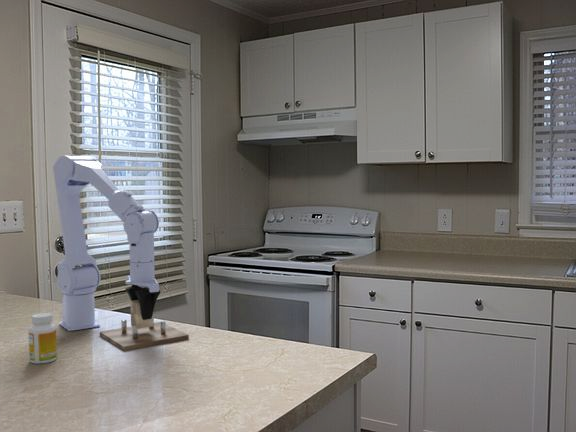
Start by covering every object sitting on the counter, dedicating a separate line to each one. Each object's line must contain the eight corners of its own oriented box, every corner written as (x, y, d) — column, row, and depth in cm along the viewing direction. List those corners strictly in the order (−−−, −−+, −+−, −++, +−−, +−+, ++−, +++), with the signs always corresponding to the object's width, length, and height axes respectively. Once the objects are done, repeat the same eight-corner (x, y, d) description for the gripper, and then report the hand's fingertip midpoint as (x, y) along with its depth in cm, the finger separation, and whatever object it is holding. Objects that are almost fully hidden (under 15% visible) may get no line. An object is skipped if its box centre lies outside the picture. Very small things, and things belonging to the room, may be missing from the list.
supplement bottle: (61, 356, 126) (60, 312, 125) (49, 364, 120) (47, 318, 120) (38, 356, 126) (36, 311, 126) (24, 363, 121) (22, 317, 120)
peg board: (99, 335, 142) (99, 319, 142) (160, 325, 152) (160, 310, 152) (123, 351, 130) (123, 333, 129) (188, 338, 139) (188, 322, 139)
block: (131, 325, 141) (130, 301, 140) (146, 323, 143) (146, 298, 143) (137, 328, 138) (136, 303, 137) (153, 326, 140) (152, 301, 140)
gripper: (115, 259, 143) (116, 313, 144) (137, 266, 131) (139, 325, 132) (142, 257, 147) (143, 310, 148) (166, 263, 136) (167, 321, 136)
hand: (143, 317), depth 140 cm, fingers closed on block, 4 cm apart
